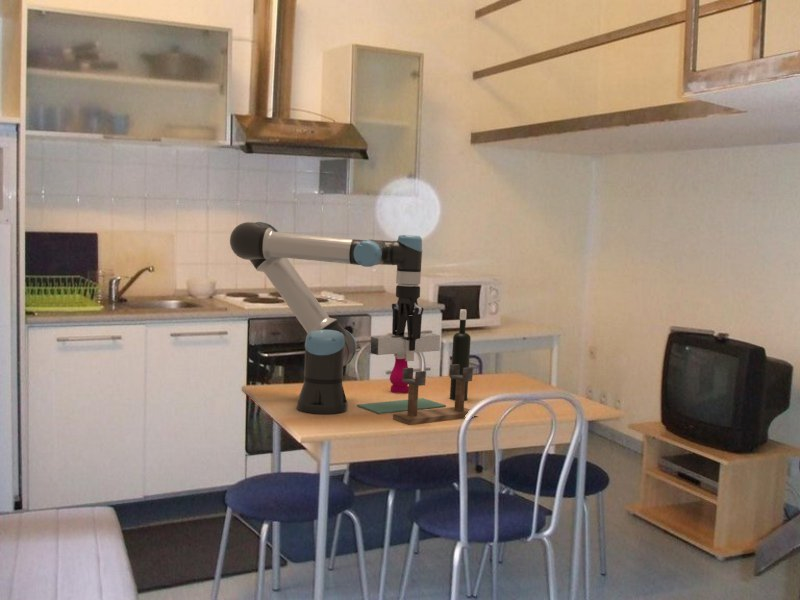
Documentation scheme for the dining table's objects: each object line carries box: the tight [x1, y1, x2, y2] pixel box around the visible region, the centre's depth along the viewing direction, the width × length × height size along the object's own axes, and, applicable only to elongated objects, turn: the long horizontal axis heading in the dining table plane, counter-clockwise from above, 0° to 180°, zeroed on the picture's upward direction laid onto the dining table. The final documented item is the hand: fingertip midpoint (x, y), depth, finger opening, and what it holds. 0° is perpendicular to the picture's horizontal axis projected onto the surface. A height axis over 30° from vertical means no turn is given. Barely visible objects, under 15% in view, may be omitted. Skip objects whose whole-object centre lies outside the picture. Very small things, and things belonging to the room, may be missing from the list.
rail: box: [369, 333, 441, 356], centre depth 274 cm, size 24×4×5 cm, turn 127°
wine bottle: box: [449, 308, 472, 401], centre depth 291 cm, size 6×6×30 cm
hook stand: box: [392, 364, 474, 426], centre depth 261 cm, size 26×8×15 cm, turn 127°
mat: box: [356, 397, 447, 415], centre depth 276 cm, size 26×12×1 cm, turn 127°
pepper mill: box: [389, 333, 409, 394], centre depth 299 cm, size 7×7×20 cm
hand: (405, 359), depth 274 cm, fingers closed on rail, 4 cm apart
